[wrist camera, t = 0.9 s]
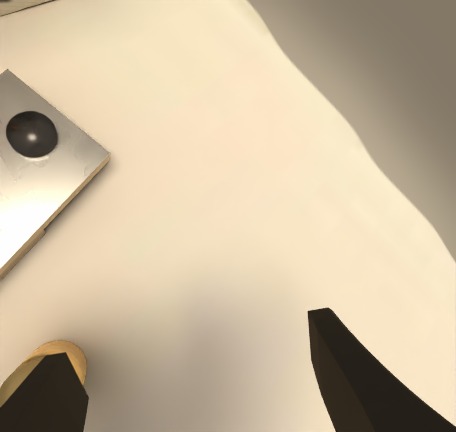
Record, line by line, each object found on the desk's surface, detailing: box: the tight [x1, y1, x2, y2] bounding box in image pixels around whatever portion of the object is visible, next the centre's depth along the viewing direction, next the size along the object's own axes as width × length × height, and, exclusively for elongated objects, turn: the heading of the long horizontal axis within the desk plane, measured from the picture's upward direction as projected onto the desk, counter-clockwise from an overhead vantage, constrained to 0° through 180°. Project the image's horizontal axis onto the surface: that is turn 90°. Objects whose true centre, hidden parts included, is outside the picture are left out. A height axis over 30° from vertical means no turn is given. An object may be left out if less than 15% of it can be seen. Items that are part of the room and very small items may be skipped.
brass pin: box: [0, 340, 87, 407], centre depth 18 cm, size 3×3×6 cm
